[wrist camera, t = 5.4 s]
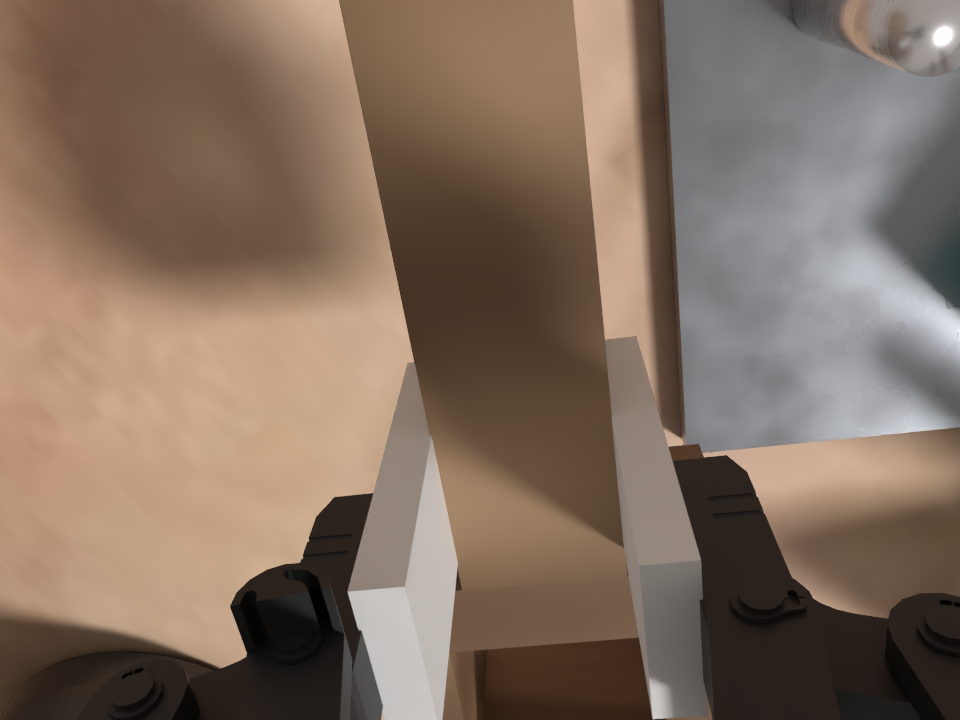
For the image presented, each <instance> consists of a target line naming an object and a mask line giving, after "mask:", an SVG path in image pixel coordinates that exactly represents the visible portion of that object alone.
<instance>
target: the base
mask: <svg viewBox="0 0 960 720" xmlns="http://www.w3.org/2000/svg"><path fill="white" fill-rule="evenodd" d="M659 11H660V30H661V48H662V67H663V86H664V105H665V124H666V143H667V162H668V181H669V200H670V219H671V238H672V256H673V275H674V294H675V313H676V332H677V351H678V370H679V389H680V408H681V427H682V441H683V444H684V445H692V444H699V446H700V448H701V451H702V453H705V452H716V451H726V450H736V449H746V448H756V447H766V446H776V445H786V444H797V443H807V442H817V441H827V440H837V439H847V438H857V437H867V436H878V435H888V434H898V433H908V432H918V431H928V430H938V429H948V428H959V427H960V0H659Z"/></svg>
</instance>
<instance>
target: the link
mask: <svg viewBox="0 0 960 720" xmlns="http://www.w3.org/2000/svg"><path fill="white" fill-rule="evenodd" d="M339 3H340V7H341V12H342V17H343V22H344V26H345V31H346V36H347V41H348V46H349V50H350V55H351V60H352V65H353V70H354V74H355V79H356V84H357V89H358V94H359V98H360V103H361V108H362V113H363V118H364V122H365V127H366V132H367V137H368V142H369V146H370V151H371V156H372V161H373V166H374V170H375V175H376V180H377V185H378V189H379V194H380V199H381V204H382V209H383V213H384V218H385V223H386V228H387V233H388V237H389V242H390V247H391V252H392V257H393V261H394V266H395V271H396V276H397V281H398V285H399V290H400V295H401V300H402V305H403V309H404V314H405V319H406V324H407V329H408V333H409V338H410V343H411V348H412V352H413V357H414V362H415V367H416V372H417V376H418V381H419V386H420V391H421V396H422V400H423V405H424V410H425V415H426V420H427V424H428V429H429V434H430V436H432V440H433V445H434V450H435V455H436V460H437V464H438V469H439V474H440V479H441V484H442V489H443V493H444V498H445V503H446V508H447V513H448V518H449V522H450V527H451V532H452V537H453V542H454V547H455V551H456V556H457V561H458V567H457V577H456V587H455V597H454V607H453V618H452V628H451V638H450V648H449V658H448V668H447V678H446V688H445V698H444V709H443V719H442V720H712V714H711V710H710V706H709V702H708V715H707V716H693V717H678V718H664V719H652V713H651V707H650V701H649V695H648V689H647V683H646V677H645V671H644V665H643V659H642V653H641V647H640V641H639V635H638V629H637V623H636V618H635V612H634V606H633V600H632V594H631V588H630V582H629V576H628V570H627V564H626V558H625V552H624V545H623V534H622V524H621V513H620V503H619V492H618V482H617V471H616V461H615V450H614V440H613V429H612V418H611V417H612V411H611V400H610V389H609V379H608V368H607V358H606V347H605V337H604V326H603V316H602V305H601V295H600V284H599V274H598V263H597V252H596V242H595V231H594V221H593V210H592V200H591V189H590V179H589V168H588V158H587V147H586V136H585V126H584V115H583V105H582V94H581V84H580V73H579V63H578V52H577V42H576V31H575V21H574V10H573V0H339ZM669 451H670V454H671V458H672V461H676V460H686V459H696V458H704V457H703V454H702V451H701V448H700V446H699V444H692V445H682V446H672V447H669ZM707 701H708V697H707Z"/></svg>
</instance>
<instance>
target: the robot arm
mask: <svg viewBox="0 0 960 720" xmlns="http://www.w3.org/2000/svg"><path fill="white" fill-rule="evenodd" d="M605 347H606V358H607V368H608V379H609V389H610V400H611V411H612V417H611V418H612V429H613V440H614V450H615V461H616V471H617V482H618V492H619V503H620V513H621V524H622V534H623V545H624V552H625V558H626V564H627V570H628V576H629V582H630V588H631V594H632V600H633V606H634V612H635V618H636V623H637V629H638V635H639V641H640V647H641V653H642V659H643V665H644V671H645V677H646V683H647V689H648V695H649V701H650V707H651V713H652V719H664V718H678V717H693V716H707V715H708V702H709V706H710V710H711V714H712V720H960V597H958V596H953V595H949V594H944V593H923V594H918V595H915V596H911V597H908V598H905V599H902V600H901V601H900V602H899V603H898V604H897V605H896V606H895V607H893V608H892V609H891V611H890V615H889V619H886V618H879V617H872V616H866V615H859V614H853V613H849V612H845V611H840V610H836V609H834V608H831V607H829V606H826V605H824V604H821V603H819V602H818V601H816V600H815V599H813V598H812V596H811V594H810V592H809V591H808V590H807V589H806V588H805V587H803V586H802V585H801V584H800V583H799V582H797V581H796V580H795V579H793V578H792V577H791V575H790V573H789V570H788V568H787V566H786V563H785V561H784V558H783V556H782V554H781V551H780V549H779V547H778V544H777V542H776V539H775V537H774V535H773V532H772V530H771V528H770V525H769V523H768V521H767V518H766V516H765V514H763V509H762V506H761V504H760V502H759V499H758V497H756V492H755V490H754V487H753V485H752V483H751V480H750V478H749V476H748V473H747V472H746V471H745V470H744V469H743V468H741V467H740V466H739V465H738V464H736V463H735V462H734V461H733V460H732V459H730V458H729V457H728V456H727V455H725V456H716V457H706V458H696V459H686V460H676V461H672V458H671V454H670V451H669V447H668V444H667V440H666V437H665V433H664V430H663V427H662V423H661V420H660V416H659V413H658V409H657V406H656V402H655V399H654V395H653V392H652V389H651V385H650V382H649V378H648V375H647V371H646V368H645V364H644V361H643V357H642V354H641V351H640V347H639V344H638V340H637V337H636V336H634V337H626V338H617V339H609V340H605ZM457 567H458V561H457V556H456V551H455V547H454V542H453V537H452V532H451V527H450V522H449V518H448V513H447V508H446V503H445V498H444V493H443V489H442V484H441V479H440V474H439V469H438V464H437V460H436V455H435V450H434V445H433V440H432V436H430V434H429V429H428V424H427V420H426V415H425V410H424V405H423V400H422V396H421V391H420V386H419V381H418V376H417V372H416V367H415V362H413V363H408V364H407V368H406V372H405V375H404V379H403V383H402V387H401V390H400V394H399V398H398V402H397V406H396V409H395V413H394V417H393V421H392V425H391V428H390V432H389V436H388V440H387V444H386V447H385V451H384V455H383V459H382V463H381V466H380V470H379V474H378V478H377V482H376V485H375V489H374V493H371V494H361V495H352V496H342V497H334V498H333V499H332V501H331V502H330V503H329V504H328V505H327V506H326V507H325V508H324V509H323V510H322V511H321V512H320V513H319V515H318V516H317V517H316V519H315V522H314V525H313V528H312V531H311V534H310V536H309V542H307V545H306V548H305V551H304V554H303V559H301V562H300V563H295V564H284V565H281V566H278V567H275V568H272V569H268V570H266V571H264V572H262V573H261V574H259V575H257V576H256V577H254V578H252V579H250V580H249V581H248V582H247V583H246V584H245V585H244V586H243V587H242V588H241V589H240V590H239V591H238V592H237V593H236V595H235V597H234V599H233V601H232V603H231V606H230V607H231V610H232V613H233V616H234V618H235V621H236V624H237V626H238V629H239V632H240V635H241V637H242V640H243V643H244V646H245V648H246V651H247V657H246V658H244V659H242V660H241V661H238V662H236V663H234V664H231V665H229V666H227V667H224V668H221V669H218V670H215V671H214V670H212V669H209V668H207V667H204V666H201V665H198V664H195V663H191V662H188V661H184V660H181V659H176V658H172V657H167V656H161V655H155V654H147V653H134V652H112V653H99V654H92V655H86V656H81V657H77V658H73V659H70V660H66V661H63V662H61V663H58V664H56V665H53V666H51V667H49V668H47V669H45V670H43V671H42V672H40V673H38V674H37V675H35V676H34V677H32V678H31V679H30V680H29V681H27V682H26V683H25V684H24V685H23V686H22V687H21V688H20V689H19V690H18V692H17V693H16V694H15V696H14V697H13V698H12V700H11V701H10V703H9V704H8V706H7V707H6V709H5V710H4V712H3V713H2V715H1V716H0V720H381V715H383V719H384V720H442V719H443V709H444V698H445V688H446V678H447V668H448V658H449V648H450V638H451V628H452V618H453V607H454V597H455V587H456V577H457ZM707 697H708V701H707Z"/></svg>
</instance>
